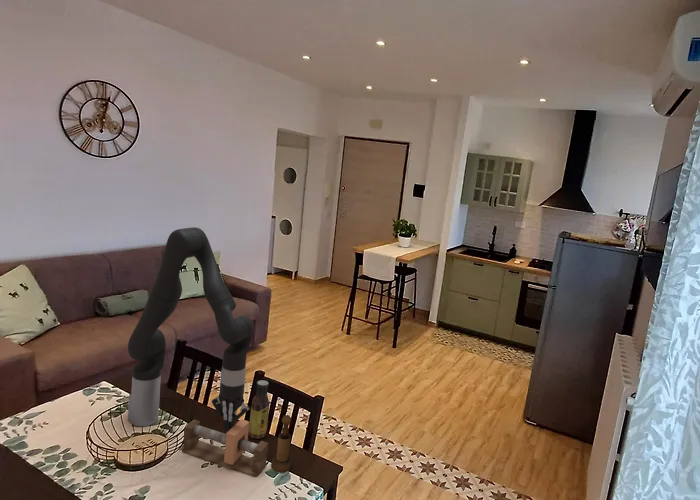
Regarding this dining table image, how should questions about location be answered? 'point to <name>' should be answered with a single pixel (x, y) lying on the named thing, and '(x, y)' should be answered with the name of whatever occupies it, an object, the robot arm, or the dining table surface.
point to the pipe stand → (217, 454)
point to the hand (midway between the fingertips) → (228, 429)
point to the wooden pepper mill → (283, 449)
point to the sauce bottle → (259, 411)
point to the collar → (235, 441)
